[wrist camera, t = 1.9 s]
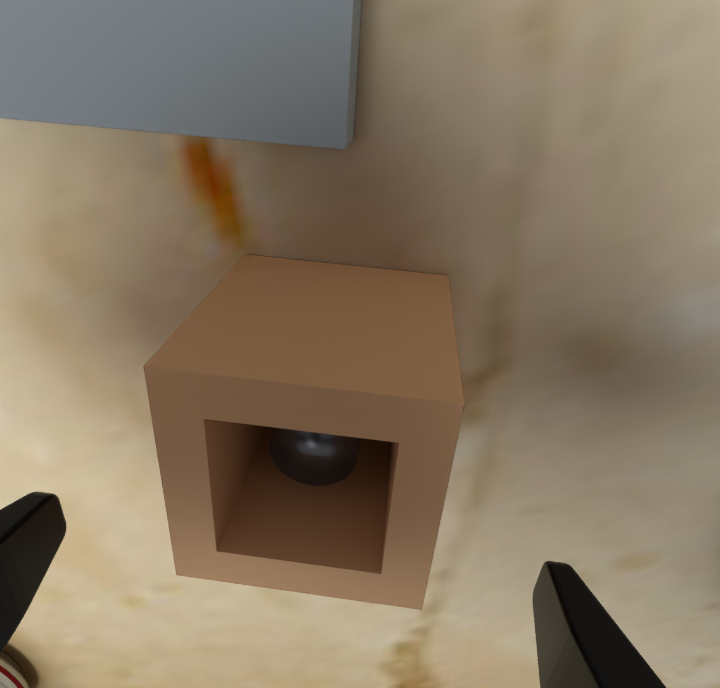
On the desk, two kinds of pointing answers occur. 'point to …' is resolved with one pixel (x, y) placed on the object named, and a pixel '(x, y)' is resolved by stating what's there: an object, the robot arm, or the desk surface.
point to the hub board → (185, 67)
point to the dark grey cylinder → (313, 455)
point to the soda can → (10, 673)
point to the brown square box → (310, 427)
